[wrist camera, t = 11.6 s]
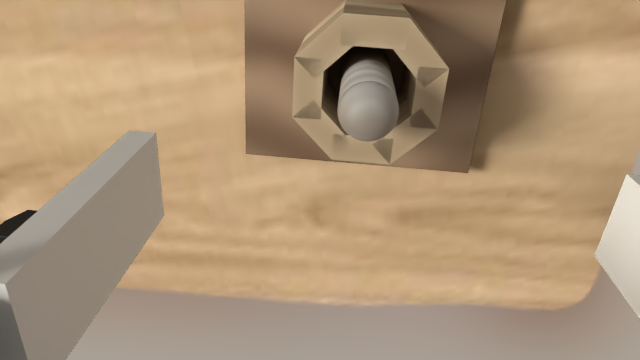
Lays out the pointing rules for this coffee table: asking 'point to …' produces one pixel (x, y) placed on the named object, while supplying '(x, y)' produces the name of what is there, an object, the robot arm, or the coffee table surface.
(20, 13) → the coffee table surface
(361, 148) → the collar
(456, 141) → the post base
